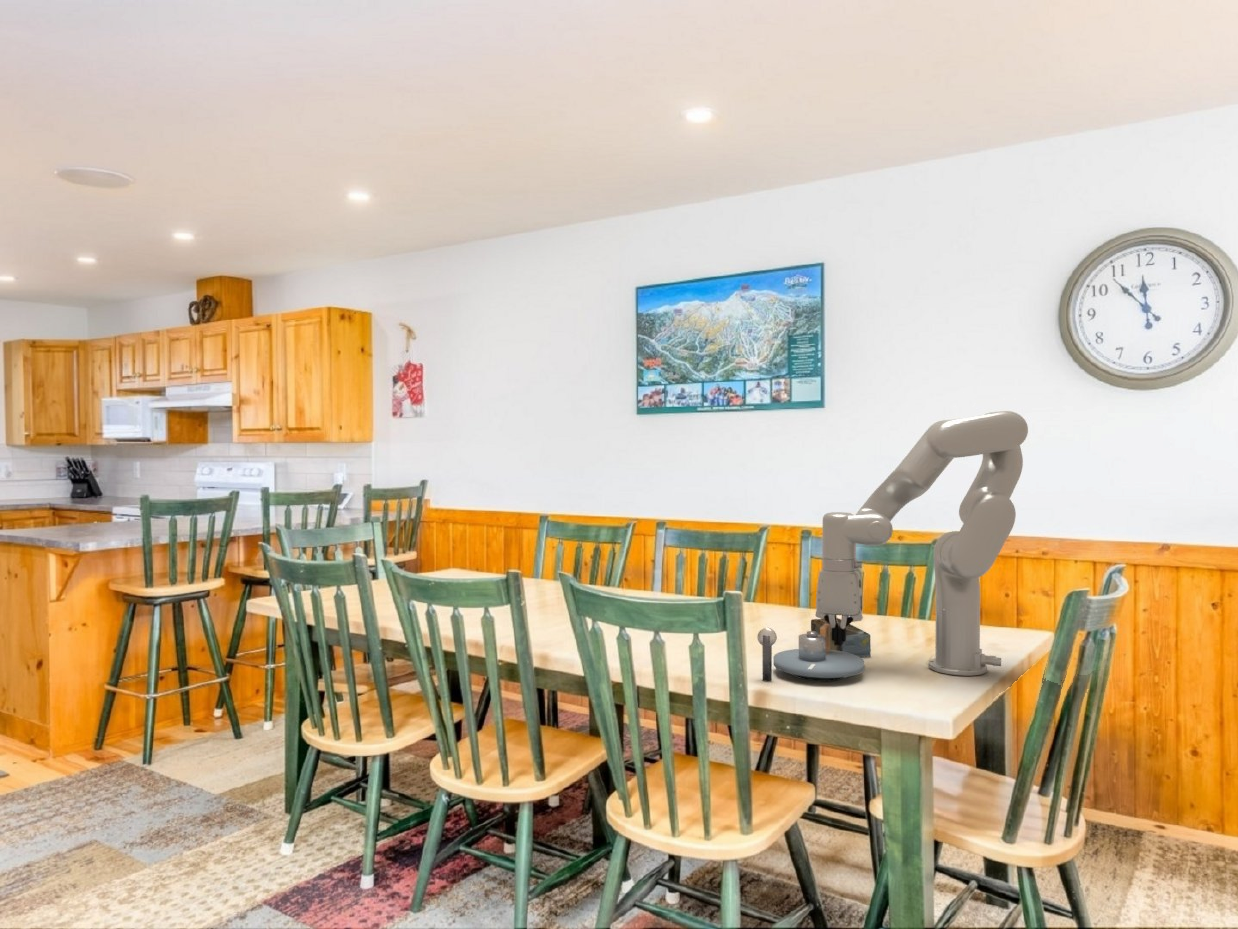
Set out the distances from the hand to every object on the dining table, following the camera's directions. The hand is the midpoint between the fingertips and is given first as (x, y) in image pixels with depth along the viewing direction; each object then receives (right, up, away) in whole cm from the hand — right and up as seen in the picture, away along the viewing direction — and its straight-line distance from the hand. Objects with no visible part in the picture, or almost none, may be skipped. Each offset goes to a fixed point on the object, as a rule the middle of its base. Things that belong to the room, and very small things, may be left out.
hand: (838, 644), depth 201 cm
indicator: (-19, -6, -11) cm, 22 cm away
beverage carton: (+5, -5, +17) cm, 19 cm away
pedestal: (-6, -6, -6) cm, 10 cm away
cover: (-7, -2, -5) cm, 9 cm away
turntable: (-6, -4, -5) cm, 9 cm away
